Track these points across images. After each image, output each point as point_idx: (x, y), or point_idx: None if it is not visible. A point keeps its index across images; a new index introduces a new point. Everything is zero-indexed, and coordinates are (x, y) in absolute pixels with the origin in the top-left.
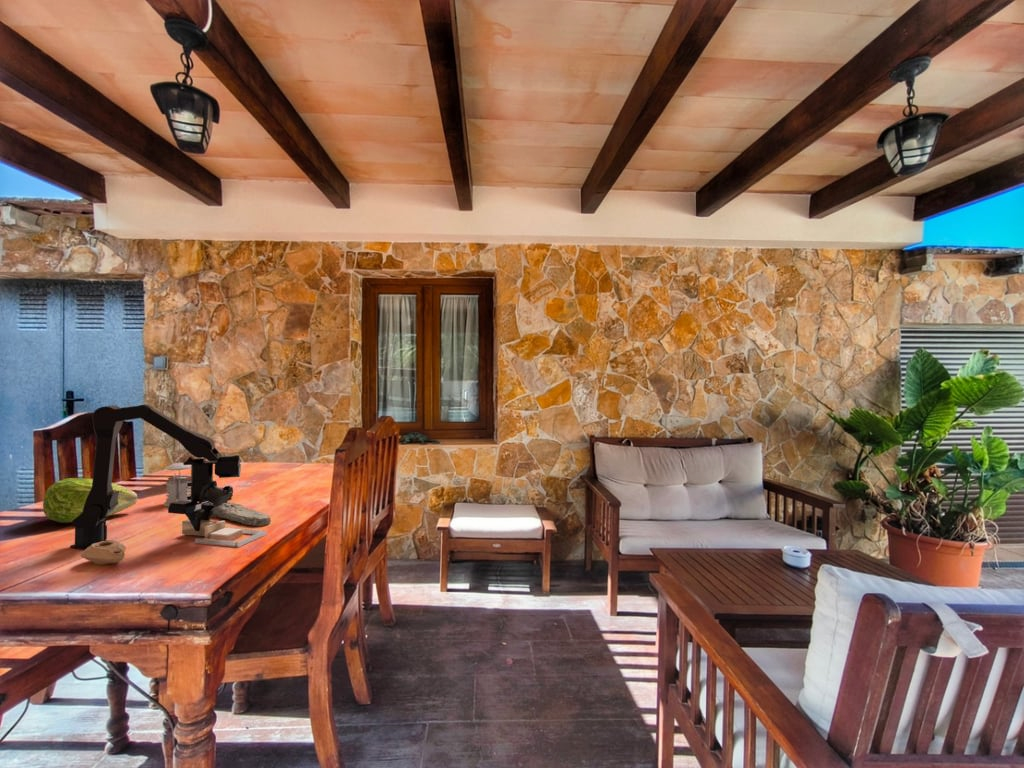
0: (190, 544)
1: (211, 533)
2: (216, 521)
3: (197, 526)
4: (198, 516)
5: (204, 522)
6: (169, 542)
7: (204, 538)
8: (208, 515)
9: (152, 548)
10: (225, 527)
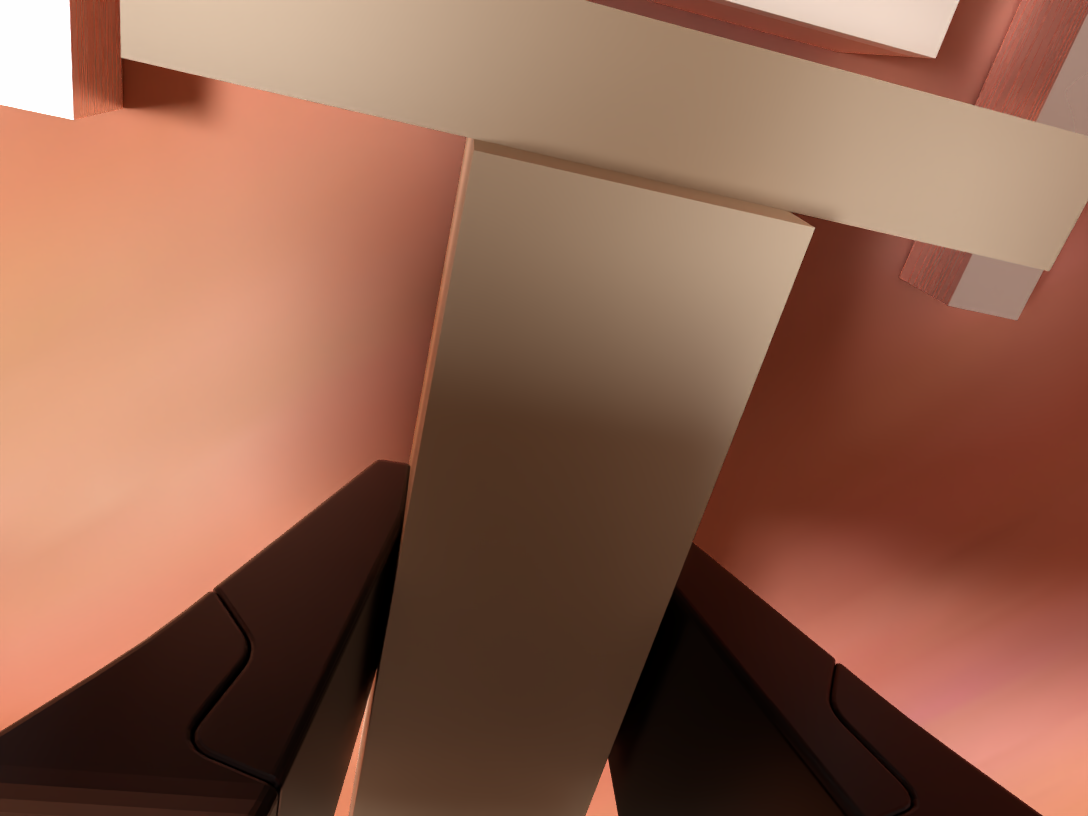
0: (1031, 321)
1: (947, 6)
2: (497, 146)
3: (710, 573)
4: (988, 807)
5: (689, 496)
6: None
7: (1041, 107)
8: (328, 678)
9: (1083, 712)
10: (3, 72)
